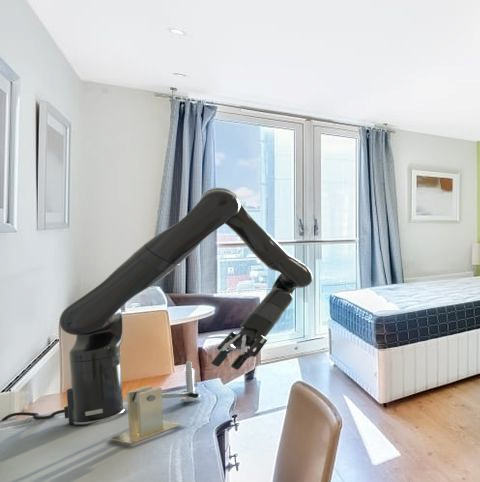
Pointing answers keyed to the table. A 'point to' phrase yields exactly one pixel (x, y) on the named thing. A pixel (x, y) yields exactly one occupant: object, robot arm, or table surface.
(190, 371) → the screw
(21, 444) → the table surface
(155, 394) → the bracket
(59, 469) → the table surface
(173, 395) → the lever
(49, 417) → the robot arm
